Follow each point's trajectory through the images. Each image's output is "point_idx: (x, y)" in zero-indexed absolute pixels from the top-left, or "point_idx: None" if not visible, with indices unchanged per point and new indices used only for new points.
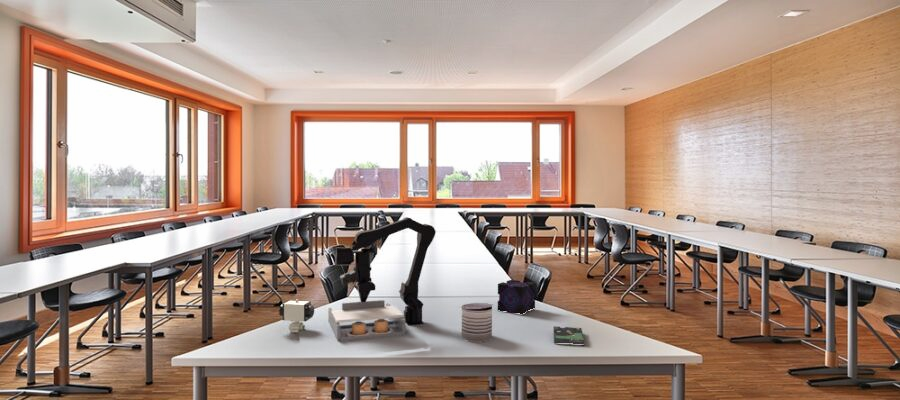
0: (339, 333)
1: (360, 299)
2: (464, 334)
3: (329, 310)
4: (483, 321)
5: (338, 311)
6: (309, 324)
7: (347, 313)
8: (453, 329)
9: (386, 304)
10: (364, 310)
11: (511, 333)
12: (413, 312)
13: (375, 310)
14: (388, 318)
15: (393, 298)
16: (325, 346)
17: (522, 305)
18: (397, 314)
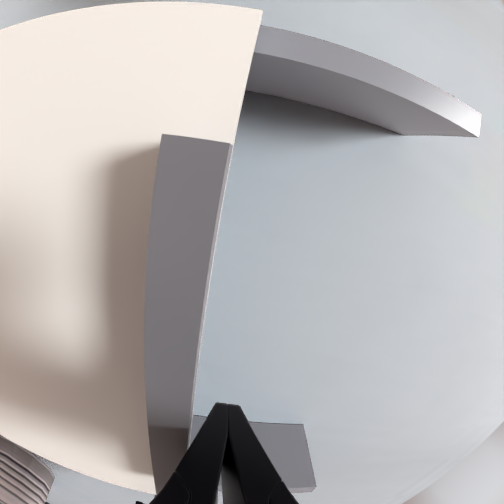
0: None
1: (218, 447)
2: (2, 446)
3: (412, 76)
4: None
5: (161, 75)
6: (436, 32)
7: (32, 163)
8: (83, 475)
9: (310, 484)
10: (95, 359)
11: (51, 492)
12: (155, 495)
13: (83, 412)
14: (255, 433)
15: (477, 444)
16: (3, 26)
17: None
18: (2, 426)
